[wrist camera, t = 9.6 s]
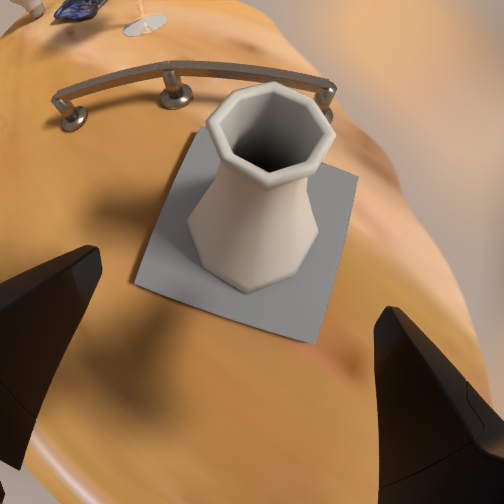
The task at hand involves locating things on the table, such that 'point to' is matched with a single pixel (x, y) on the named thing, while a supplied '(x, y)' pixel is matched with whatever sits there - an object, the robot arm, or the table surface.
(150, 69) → the bent rail
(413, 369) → the robot arm
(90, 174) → the table surface
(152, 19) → the wineglass
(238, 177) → the flask
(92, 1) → the snack package
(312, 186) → the slate coaster
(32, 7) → the lightbulb
